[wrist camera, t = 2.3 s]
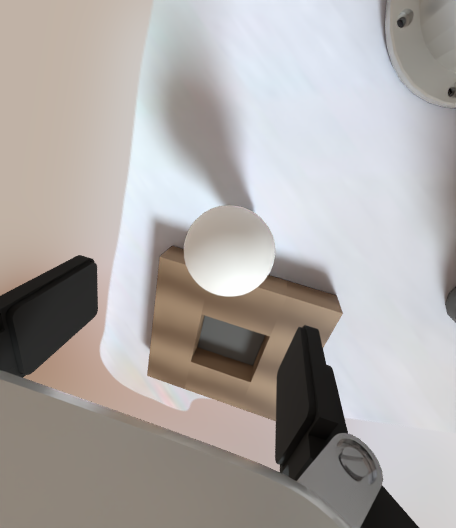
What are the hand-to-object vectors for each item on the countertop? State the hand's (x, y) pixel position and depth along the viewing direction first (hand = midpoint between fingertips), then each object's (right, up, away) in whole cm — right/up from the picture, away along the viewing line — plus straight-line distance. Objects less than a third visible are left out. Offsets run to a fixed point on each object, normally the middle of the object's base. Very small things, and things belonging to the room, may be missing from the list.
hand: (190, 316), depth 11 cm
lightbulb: (+3, +7, +13) cm, 15 cm away
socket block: (+2, -6, +19) cm, 20 cm away
